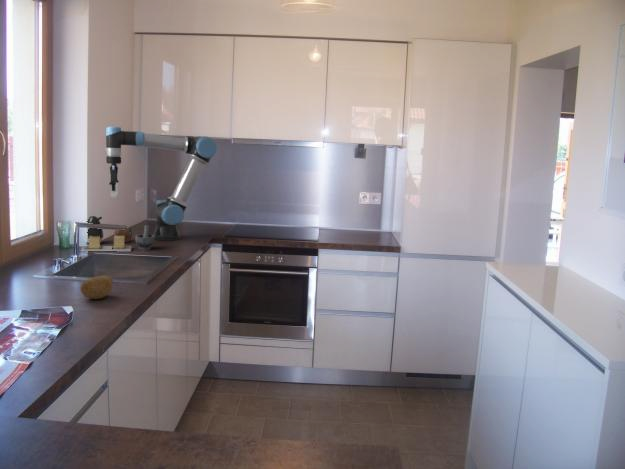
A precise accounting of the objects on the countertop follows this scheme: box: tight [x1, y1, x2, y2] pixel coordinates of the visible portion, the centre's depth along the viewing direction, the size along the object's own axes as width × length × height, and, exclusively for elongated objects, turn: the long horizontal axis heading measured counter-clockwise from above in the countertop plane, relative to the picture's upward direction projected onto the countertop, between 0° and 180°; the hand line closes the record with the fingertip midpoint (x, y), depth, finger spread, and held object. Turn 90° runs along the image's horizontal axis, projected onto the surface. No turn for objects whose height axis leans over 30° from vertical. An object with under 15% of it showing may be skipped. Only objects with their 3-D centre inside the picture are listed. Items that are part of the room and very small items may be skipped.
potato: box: [80, 274, 114, 300], centre depth 202 cm, size 10×14×8 cm
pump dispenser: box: [86, 215, 104, 243], centre depth 303 cm, size 10×10×15 cm
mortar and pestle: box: [134, 225, 155, 251], centre depth 296 cm, size 11×9×12 cm
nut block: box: [113, 235, 126, 249], centre depth 290 cm, size 5×5×7 cm
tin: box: [113, 227, 133, 243], centre depth 311 cm, size 15×3×8 cm, turn 168°
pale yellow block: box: [88, 236, 101, 249], centre depth 286 cm, size 5×5×7 cm
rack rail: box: [80, 245, 132, 253], centre depth 289 cm, size 24×9×1 cm, turn 106°
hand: (114, 195), depth 301 cm, fingers open, 13 cm apart
